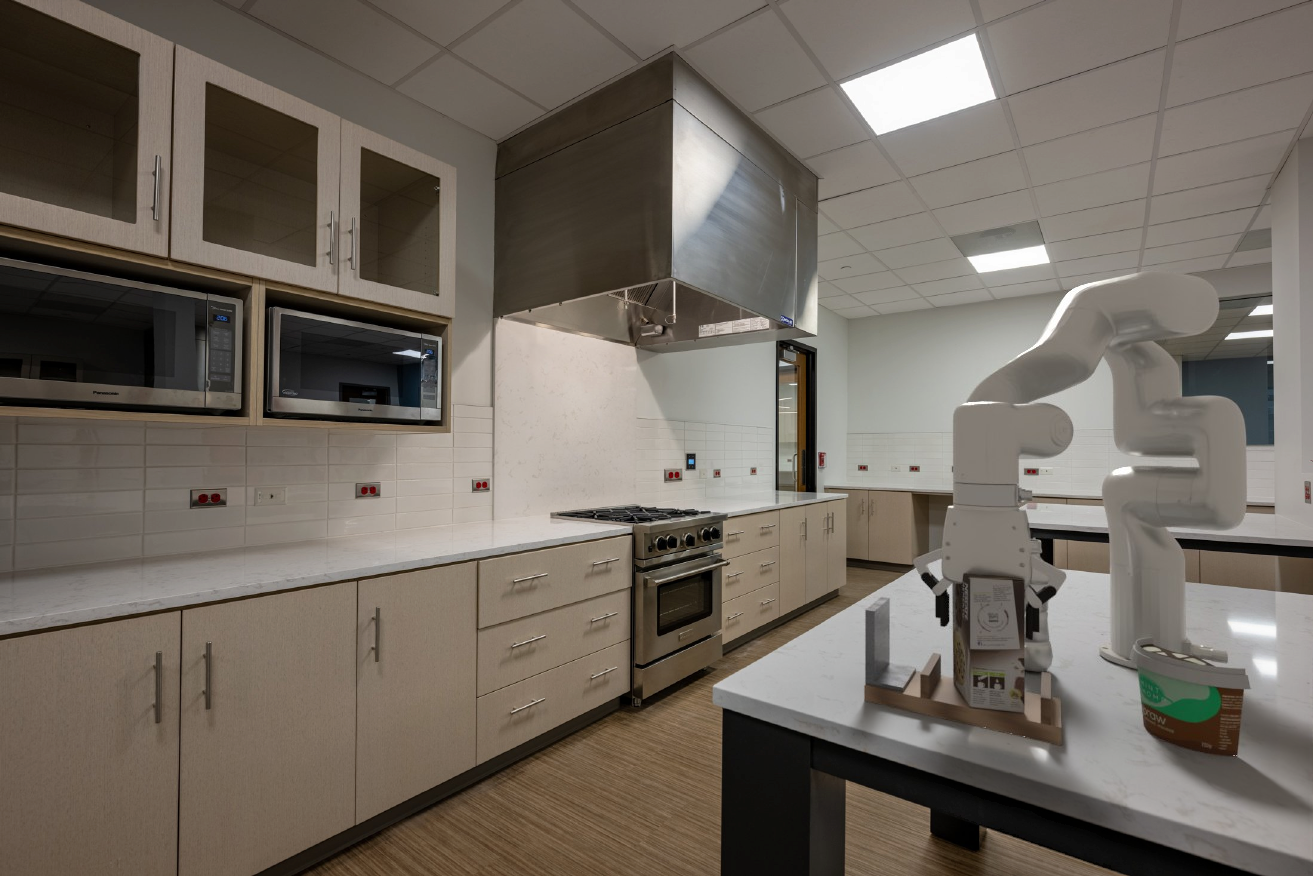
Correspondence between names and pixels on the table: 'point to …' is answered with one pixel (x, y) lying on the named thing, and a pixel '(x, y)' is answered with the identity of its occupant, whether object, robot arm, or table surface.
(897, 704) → the book rack
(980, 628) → the coffee box
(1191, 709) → the food container
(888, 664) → the bookend
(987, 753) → the table surface
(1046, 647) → the plastic bottle
